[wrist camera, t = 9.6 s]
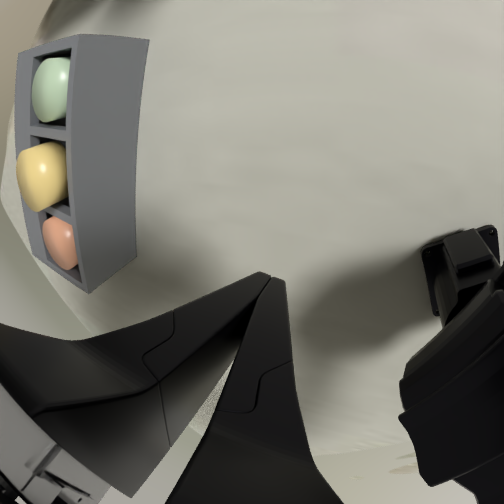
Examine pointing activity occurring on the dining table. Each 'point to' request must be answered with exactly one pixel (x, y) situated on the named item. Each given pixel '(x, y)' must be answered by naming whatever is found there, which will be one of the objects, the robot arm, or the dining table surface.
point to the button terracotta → (60, 242)
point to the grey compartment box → (89, 149)
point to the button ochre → (42, 175)
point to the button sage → (51, 89)
